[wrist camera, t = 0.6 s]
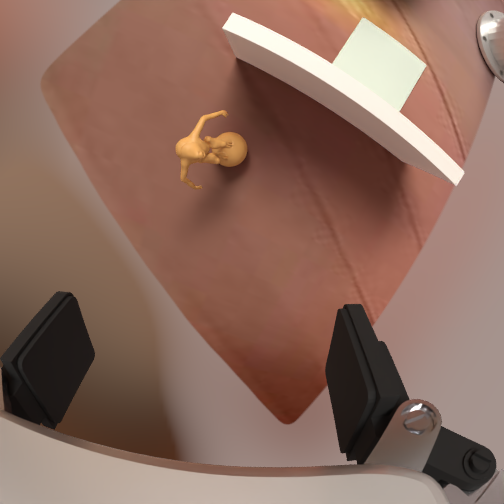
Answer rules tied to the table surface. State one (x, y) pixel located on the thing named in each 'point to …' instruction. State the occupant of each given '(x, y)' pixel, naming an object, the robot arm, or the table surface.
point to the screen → (338, 95)
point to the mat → (380, 63)
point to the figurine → (196, 150)
